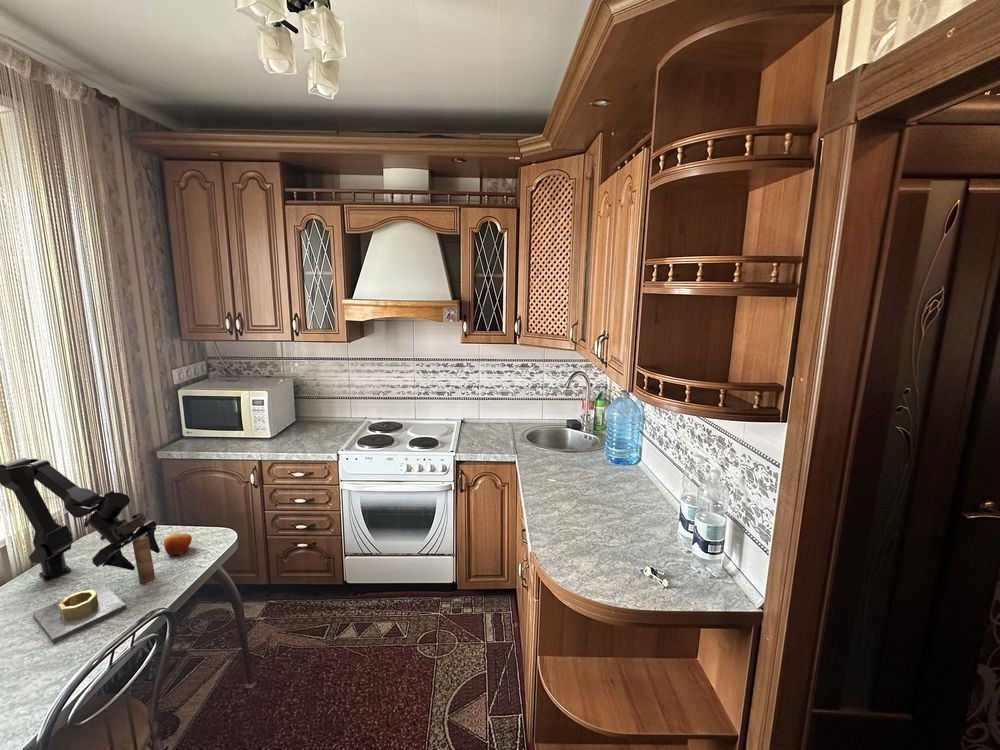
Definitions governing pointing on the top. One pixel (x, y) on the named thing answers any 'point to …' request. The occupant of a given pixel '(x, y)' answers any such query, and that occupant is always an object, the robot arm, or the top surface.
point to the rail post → (143, 560)
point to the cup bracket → (78, 612)
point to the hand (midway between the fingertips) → (146, 560)
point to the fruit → (177, 543)
